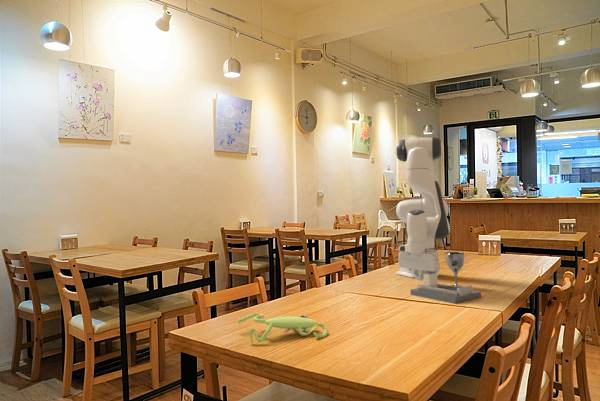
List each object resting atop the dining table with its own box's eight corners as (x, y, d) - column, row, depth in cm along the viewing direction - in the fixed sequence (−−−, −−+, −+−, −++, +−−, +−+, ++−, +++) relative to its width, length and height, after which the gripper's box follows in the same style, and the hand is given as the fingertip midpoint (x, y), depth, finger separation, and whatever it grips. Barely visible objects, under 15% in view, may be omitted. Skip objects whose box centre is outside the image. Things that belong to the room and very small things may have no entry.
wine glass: (468, 288, 194) (467, 253, 194) (450, 288, 194) (448, 254, 194) (462, 284, 202) (460, 251, 202) (444, 285, 202) (443, 252, 202)
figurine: (238, 330, 146) (237, 312, 146) (317, 322, 151) (316, 305, 151) (241, 348, 128) (240, 328, 128) (331, 338, 133) (330, 319, 133)
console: (410, 294, 186) (410, 282, 186) (435, 288, 195) (435, 277, 195) (455, 303, 168) (454, 290, 168) (481, 296, 177) (480, 284, 177)
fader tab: (424, 288, 187) (423, 271, 187) (431, 286, 190) (431, 270, 190) (429, 289, 184) (429, 272, 184) (437, 287, 187) (437, 271, 187)
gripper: (442, 248, 185) (443, 282, 185) (405, 245, 202) (406, 276, 202) (432, 250, 182) (433, 284, 182) (395, 247, 199) (396, 278, 199)
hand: (419, 280), depth 192 cm, fingers closed
